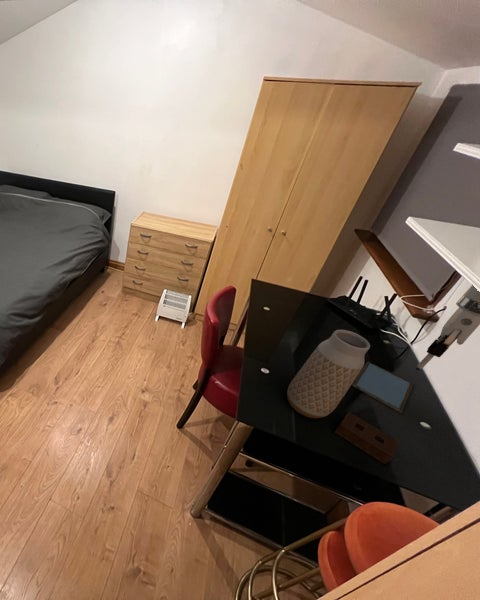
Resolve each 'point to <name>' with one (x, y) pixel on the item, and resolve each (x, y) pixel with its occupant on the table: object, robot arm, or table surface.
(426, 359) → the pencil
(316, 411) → the vase
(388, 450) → the holder
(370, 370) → the tablet
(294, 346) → the table surface
